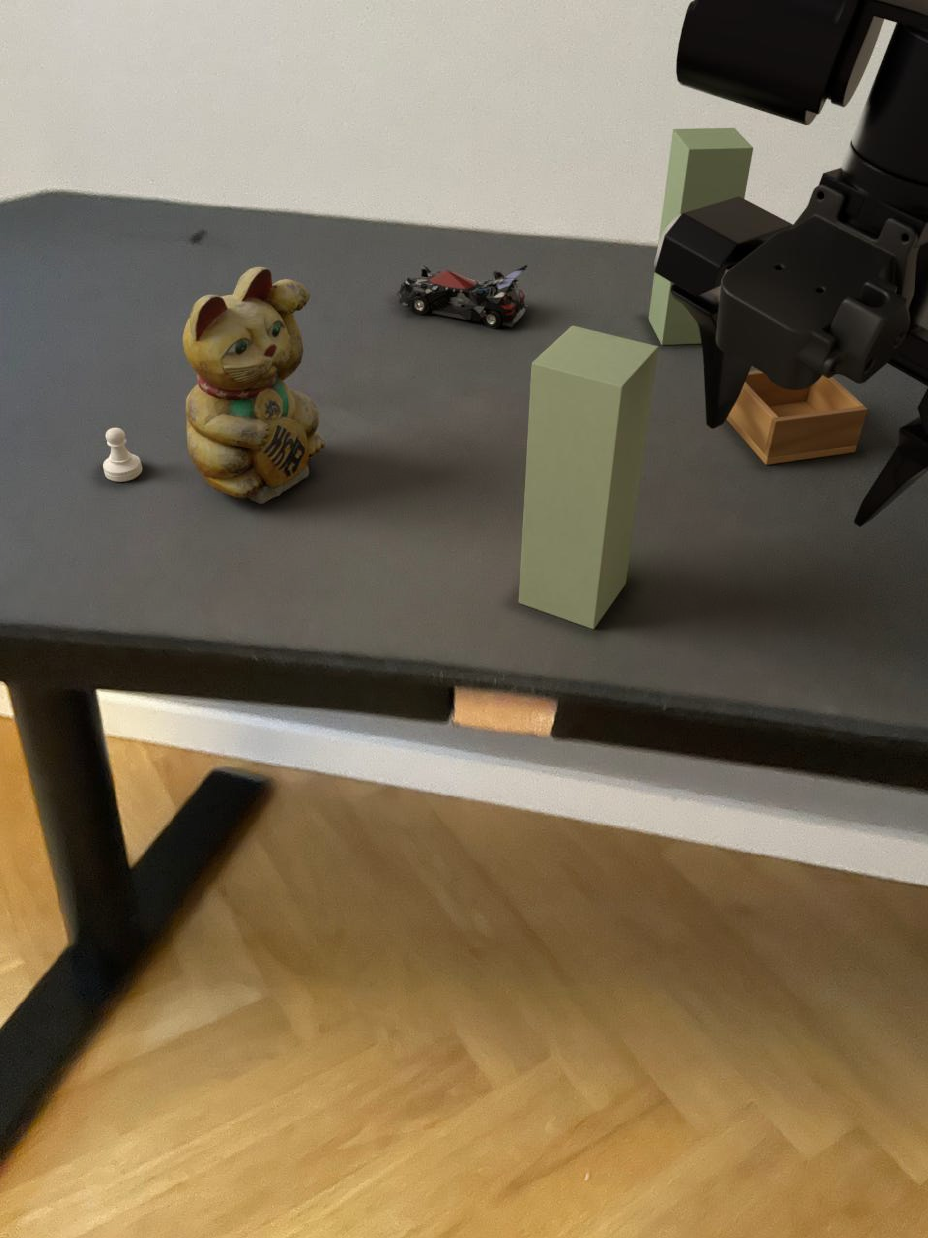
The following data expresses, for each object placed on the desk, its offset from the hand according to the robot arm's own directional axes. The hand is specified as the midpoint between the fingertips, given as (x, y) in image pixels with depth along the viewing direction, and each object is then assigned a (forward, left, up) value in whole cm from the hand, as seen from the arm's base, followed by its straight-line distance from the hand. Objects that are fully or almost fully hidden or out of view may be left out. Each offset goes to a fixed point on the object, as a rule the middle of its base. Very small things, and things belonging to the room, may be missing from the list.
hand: (785, 471), depth 53 cm
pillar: (+7, -41, -12) cm, 43 cm away
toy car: (+27, -40, -13) cm, 50 cm away
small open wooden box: (-2, -26, -12) cm, 28 cm away
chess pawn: (+43, -8, -13) cm, 46 cm away
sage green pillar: (+10, -3, -12) cm, 16 cm away
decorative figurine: (+34, -10, -13) cm, 38 cm away
